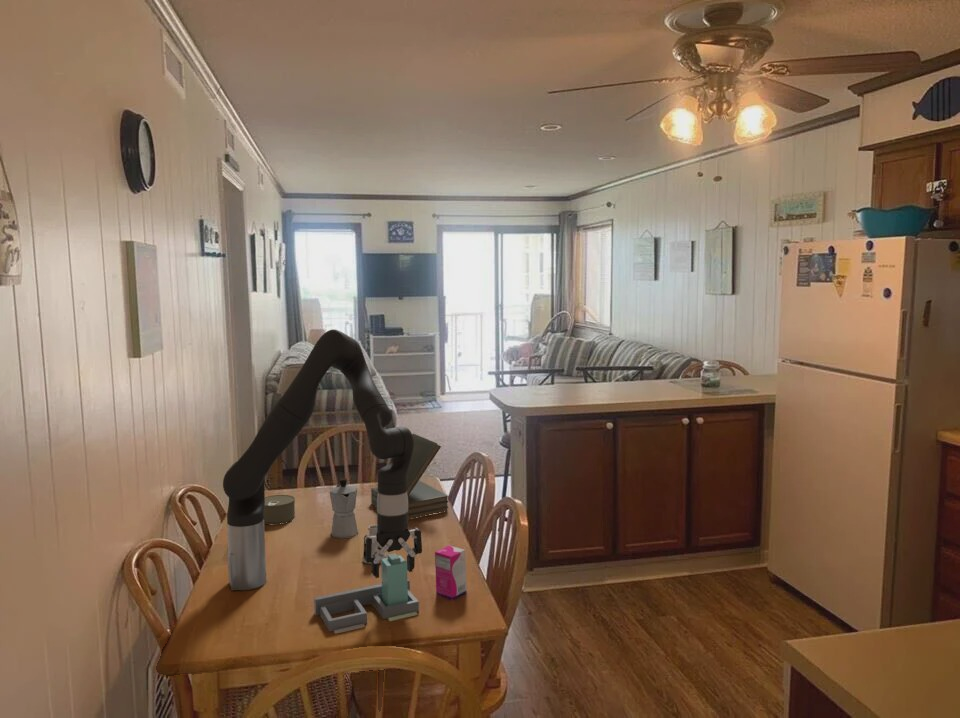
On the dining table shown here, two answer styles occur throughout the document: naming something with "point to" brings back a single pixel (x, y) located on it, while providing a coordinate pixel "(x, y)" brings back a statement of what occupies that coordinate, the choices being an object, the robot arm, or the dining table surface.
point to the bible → (419, 493)
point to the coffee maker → (343, 510)
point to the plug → (394, 580)
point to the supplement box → (450, 572)
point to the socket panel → (360, 607)
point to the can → (279, 509)
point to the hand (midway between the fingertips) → (393, 573)
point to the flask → (373, 533)
